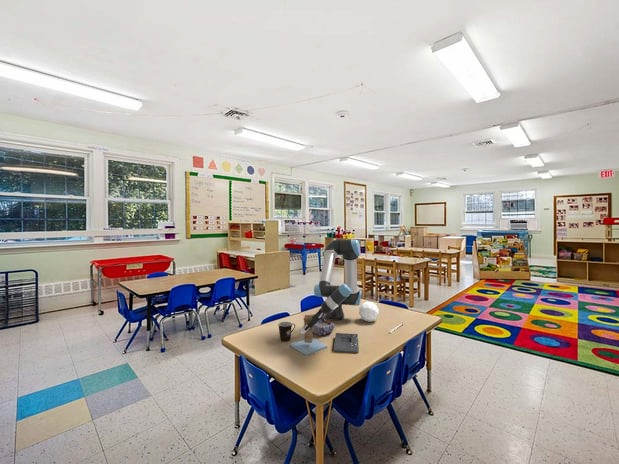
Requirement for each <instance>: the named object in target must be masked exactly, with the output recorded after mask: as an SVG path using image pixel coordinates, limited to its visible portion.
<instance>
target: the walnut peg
mask: <svg viewBox="0 0 619 464" xmlns="http://www.w3.org/2000/svg"><path fill="white" fill-rule="evenodd" d="M311 320H312V315H311V314H305V315H304V318H303V326H304V327H305V326H306V325H307V323H310V321H311ZM313 333H314V332H313V327H312V328H310V329H309V330H308V331H307V332H305V333H304V334H303V335H304V336H303V337H304V338H303V340H304V342H306V343H312V340H313V339H314V338H313Z"/></svg>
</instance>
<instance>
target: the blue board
mask: <svg viewBox="0 0 619 464" xmlns="http://www.w3.org/2000/svg"><path fill="white" fill-rule="evenodd" d="M289 346H290V347H292V348H293V349H295V350H297V352H298V351H299V352H300V353H301V354H303V355H304V356H307V355H308V356H309V355H311V354H314V353H315V352H316V353H317V352H320V351H321V350H325V349H327V348H328V345H327V344H324V343H322V342H320V341H319V340H317V339H315V338H313V340H312V343H306V342H304V339H303V340H298V341H296V342H292V343H289Z"/></svg>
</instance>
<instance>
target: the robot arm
mask: <svg viewBox="0 0 619 464" xmlns="http://www.w3.org/2000/svg"><path fill="white" fill-rule="evenodd" d="M338 256H342V259H343V260H344V273H345V283H342V284H340V285H332V279H333V278H332V277H333V273H334V268H335V264H336V263H335V262H336V259H337V258H338ZM360 256H361V245H360V241H359V240H358V239H355V238H354V239H353V238H351V239H349V238H348V239H347V238H346V239H345V238H342V239H341V238H336V239H333V240H332V241H330V242H329V243H328V244H327V245H326V247H325V249H324V253H323V257H324V259H323V263H322V267H321V271H320V277H319V282H318V284H315V285H314V287H313V294H314V296H315V297H320V298H326V299H325V300H324V301H322V303H321V304H320V307H321V308H320V309H318V310H317V312H316V313H314V314H315V315H314V316H313V317H312V320H311V321H310V323H307V325H306V326H305V327H304V325H303V326H302V327H301V328H300V329H301V330H300V331H299V333H301V334H302V335H304V333H305V332H307V331H308V330H309V329H310V328H312V327H313V326H314V325H315V324H316V323H317V322H318V321H319V320H320V319H321V318H322V317H323V318H324V319H325V320H328V321H341V320H343V319H345V313H344V310H343V305H344V306H357V307H359V306H361V305H360V304H361V299H362V290H360V287H359V286H358V268H357V264H358V263H357V260H358V259H359V257H360Z"/></svg>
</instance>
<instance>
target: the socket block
mask: <svg viewBox="0 0 619 464" xmlns="http://www.w3.org/2000/svg"><path fill="white" fill-rule="evenodd" d="M358 335H359V334H358V333H344V332H342V333H341V332H336V333H335V335H334V336H335V338H334V345H333V349H334V350H333V351H334V352H339V353H355V354H359V353H360V352H359V351H360V350H359V348H360V345H359V336H358Z"/></svg>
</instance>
